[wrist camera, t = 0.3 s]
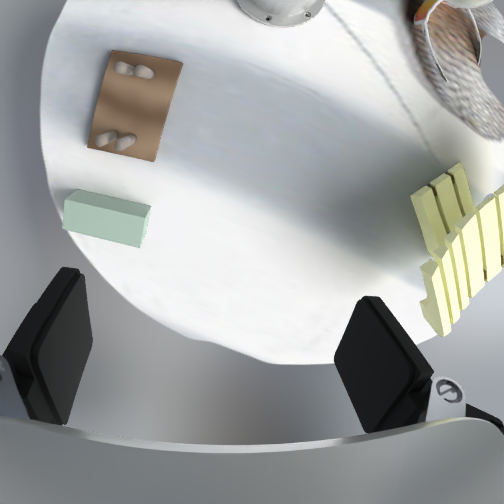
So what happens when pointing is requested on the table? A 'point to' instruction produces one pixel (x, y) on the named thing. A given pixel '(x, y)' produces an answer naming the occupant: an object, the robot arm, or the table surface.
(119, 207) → the mint green rectangular block
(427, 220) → the slatted curved stool
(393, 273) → the table surface
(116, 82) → the peg stand
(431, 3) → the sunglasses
